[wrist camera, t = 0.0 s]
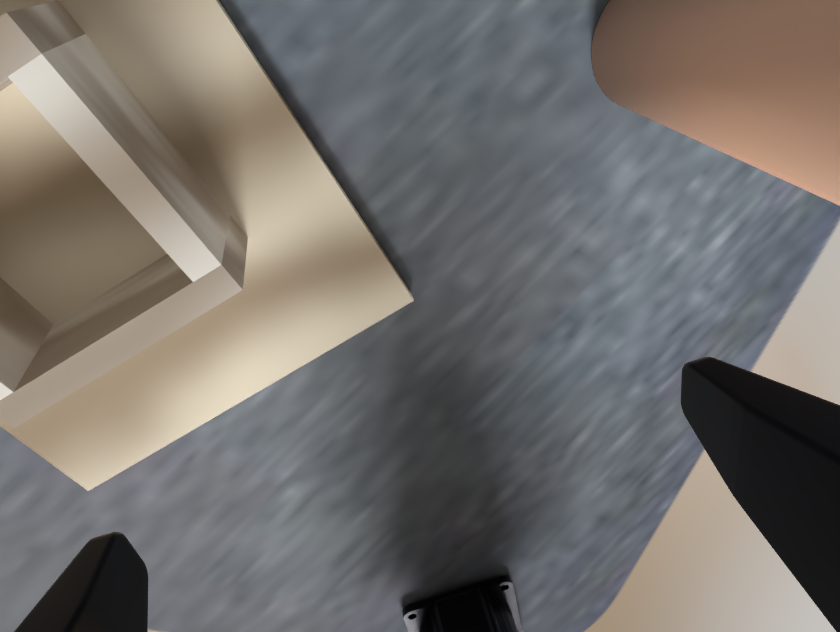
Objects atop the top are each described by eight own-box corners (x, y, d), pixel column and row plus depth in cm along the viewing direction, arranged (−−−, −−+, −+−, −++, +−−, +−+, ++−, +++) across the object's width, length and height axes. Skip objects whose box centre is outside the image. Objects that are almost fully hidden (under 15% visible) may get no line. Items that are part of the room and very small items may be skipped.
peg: (709, 92, 23) (1044, 202, 13) (594, 122, 23) (845, 260, 13) (716, -47, 21) (1135, -43, 11) (587, -15, 21) (891, 21, 10)
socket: (411, 293, 25) (436, 356, 21) (91, 480, 27) (60, 571, 23) (3, -327, 14) (-96, -427, 11) (-488, 44, 16) (-732, 75, 12)
